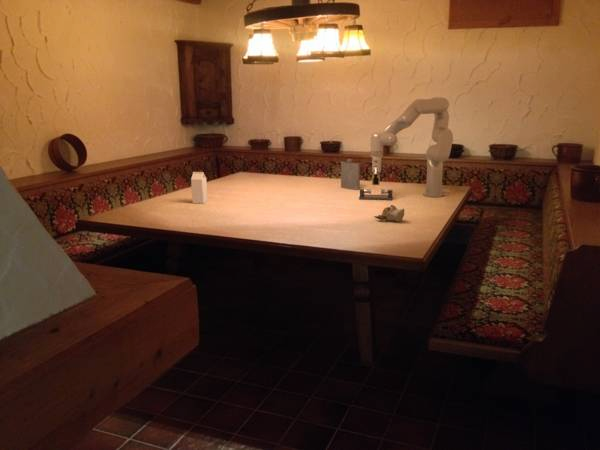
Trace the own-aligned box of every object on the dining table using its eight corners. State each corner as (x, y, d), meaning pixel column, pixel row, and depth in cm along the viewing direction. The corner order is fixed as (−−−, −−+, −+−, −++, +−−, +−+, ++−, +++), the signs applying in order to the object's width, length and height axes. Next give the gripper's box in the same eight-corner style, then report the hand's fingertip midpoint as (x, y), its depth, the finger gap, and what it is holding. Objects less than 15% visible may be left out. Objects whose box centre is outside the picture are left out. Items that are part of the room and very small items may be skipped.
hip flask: (360, 189, 356) (360, 160, 351) (356, 190, 353) (356, 160, 348) (343, 186, 367) (343, 157, 362) (339, 187, 365) (339, 158, 359)
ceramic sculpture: (399, 207, 265) (373, 206, 274) (400, 224, 267) (373, 222, 276) (408, 203, 273) (382, 202, 282) (408, 220, 275) (382, 218, 284)
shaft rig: (392, 197, 330) (392, 187, 328) (392, 200, 321) (392, 190, 320) (360, 196, 334) (360, 187, 332) (359, 199, 326) (359, 189, 324)
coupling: (379, 184, 327) (379, 173, 325) (379, 185, 323) (379, 174, 321) (372, 184, 328) (372, 173, 326) (371, 185, 324) (372, 174, 322)
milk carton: (203, 203, 323) (201, 173, 318) (192, 203, 324) (190, 172, 320) (207, 201, 330) (205, 171, 325) (197, 201, 331) (194, 170, 326)
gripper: (382, 155, 312) (381, 186, 317) (383, 152, 328) (382, 181, 332) (369, 155, 313) (368, 186, 318) (371, 152, 329) (370, 181, 334)
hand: (375, 183), depth 325 cm, fingers closed on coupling, 4 cm apart
